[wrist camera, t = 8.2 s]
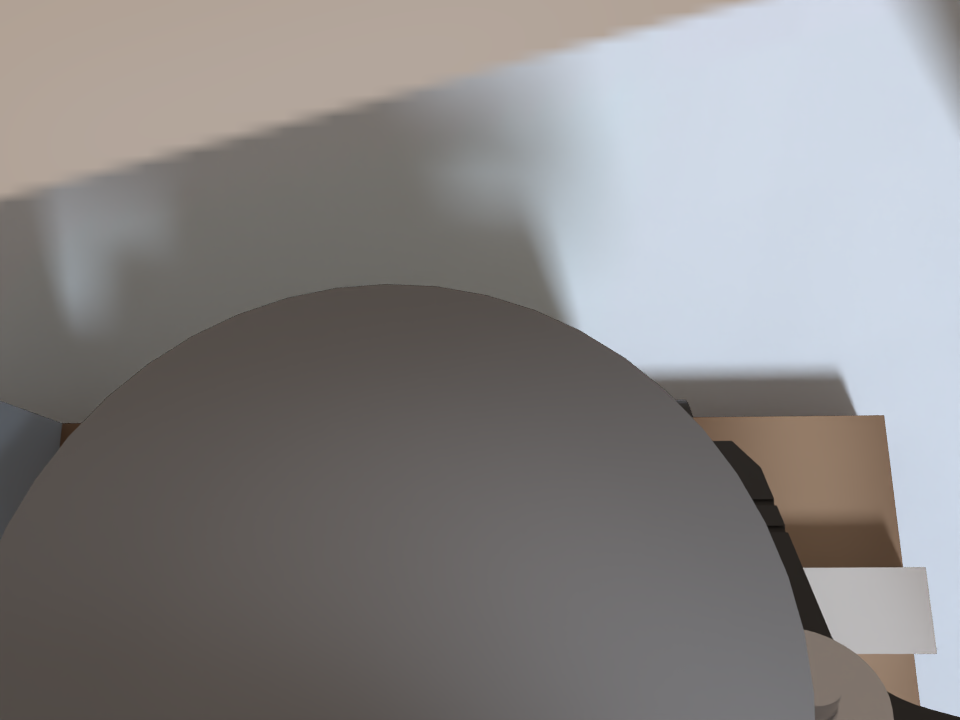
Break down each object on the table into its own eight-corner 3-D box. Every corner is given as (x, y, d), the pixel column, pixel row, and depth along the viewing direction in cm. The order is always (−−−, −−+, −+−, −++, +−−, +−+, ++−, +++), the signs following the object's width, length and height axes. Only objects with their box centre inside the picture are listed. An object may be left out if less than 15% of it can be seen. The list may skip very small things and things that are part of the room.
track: (861, 425, 20) (904, 406, 18) (906, 809, 18) (961, 840, 16) (-78, 434, 20) (-147, 416, 18) (-139, 804, 18) (-224, 832, 16)
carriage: (627, 430, 17) (931, 20, 5) (645, 812, 16) (1210, 1768, 3) (186, 434, 18) (-624, 59, 5) (154, 809, 16) (-1212, 1664, 3)
